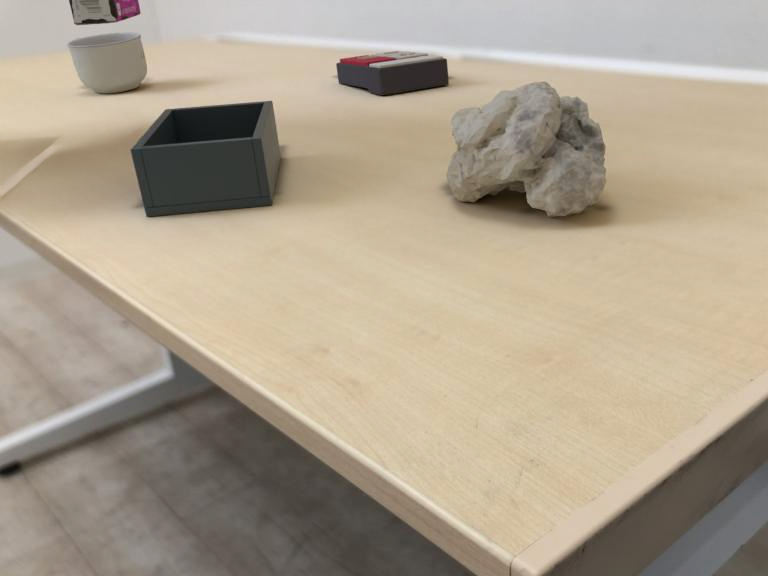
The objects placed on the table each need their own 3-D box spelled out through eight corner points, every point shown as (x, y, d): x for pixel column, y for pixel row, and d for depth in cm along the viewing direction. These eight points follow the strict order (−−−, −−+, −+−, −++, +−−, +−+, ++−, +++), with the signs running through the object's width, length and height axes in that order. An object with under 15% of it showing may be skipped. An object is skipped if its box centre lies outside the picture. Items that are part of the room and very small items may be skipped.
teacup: (164, 87, 127) (153, 33, 124) (98, 99, 120) (84, 43, 117) (123, 80, 136) (111, 30, 132) (60, 91, 129) (45, 38, 126)
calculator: (398, 48, 125) (447, 52, 113) (401, 77, 127) (450, 84, 115) (334, 57, 120) (378, 62, 108) (338, 87, 122) (381, 95, 110)
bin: (146, 217, 68) (130, 149, 65) (177, 166, 83) (165, 109, 80) (272, 205, 69) (261, 138, 67) (280, 157, 84) (272, 100, 81)
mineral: (546, 136, 76) (496, 43, 71) (663, 167, 61) (612, 53, 56) (448, 218, 75) (389, 130, 69) (544, 269, 60) (480, 163, 55)
